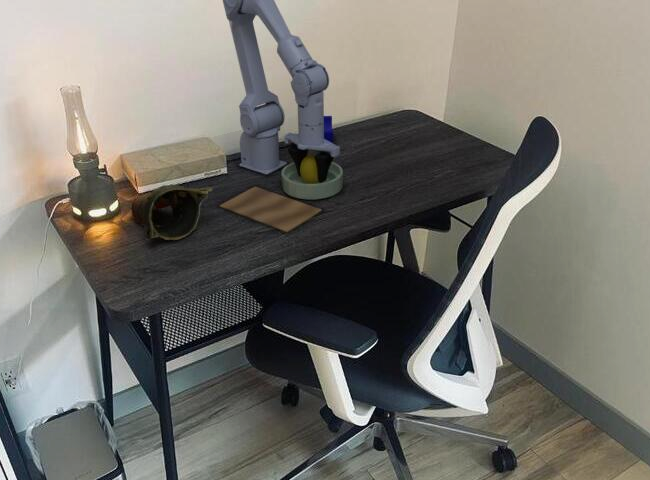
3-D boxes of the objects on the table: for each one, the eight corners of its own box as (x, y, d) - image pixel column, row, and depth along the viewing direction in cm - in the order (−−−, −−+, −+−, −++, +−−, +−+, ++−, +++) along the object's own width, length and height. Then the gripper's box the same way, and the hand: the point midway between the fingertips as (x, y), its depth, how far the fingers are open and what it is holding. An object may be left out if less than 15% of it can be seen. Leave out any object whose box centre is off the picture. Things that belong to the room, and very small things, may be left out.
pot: (160, 163, 149) (198, 163, 135) (188, 204, 155) (228, 207, 141) (101, 211, 143) (136, 216, 129) (133, 252, 148) (169, 260, 134)
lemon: (321, 191, 155) (321, 159, 150) (298, 190, 156) (297, 158, 151) (325, 181, 159) (325, 149, 155) (303, 180, 160) (302, 148, 156)
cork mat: (219, 206, 151) (219, 205, 151) (255, 187, 158) (255, 186, 158) (287, 232, 140) (287, 231, 140) (322, 210, 148) (322, 209, 147)
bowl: (269, 190, 157) (269, 174, 155) (307, 169, 166) (307, 154, 164) (317, 206, 149) (317, 190, 147) (354, 184, 158) (354, 168, 156)
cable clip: (315, 137, 183) (315, 116, 180) (331, 136, 183) (331, 115, 180) (315, 154, 173) (315, 132, 170) (333, 154, 173) (333, 132, 170)
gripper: (274, 120, 150) (277, 176, 158) (326, 134, 142) (326, 192, 150) (294, 111, 154) (296, 166, 162) (345, 124, 147) (345, 181, 154)
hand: (312, 177), depth 156 cm, fingers closed on lemon, 5 cm apart
